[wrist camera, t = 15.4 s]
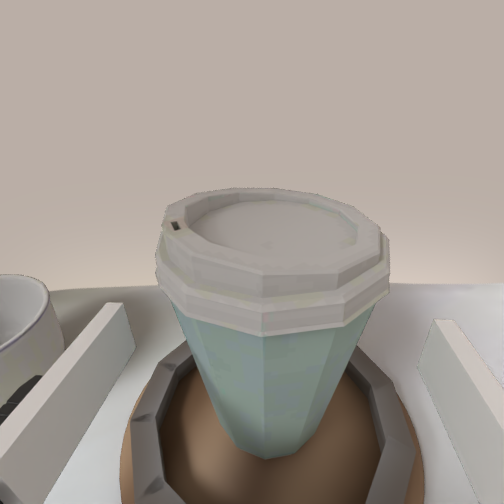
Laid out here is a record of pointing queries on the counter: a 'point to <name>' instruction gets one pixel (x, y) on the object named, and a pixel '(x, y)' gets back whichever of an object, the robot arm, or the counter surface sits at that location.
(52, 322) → the teacup
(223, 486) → the ring board
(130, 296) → the counter surface
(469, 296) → the counter surface
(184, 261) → the disposable coffee cup
